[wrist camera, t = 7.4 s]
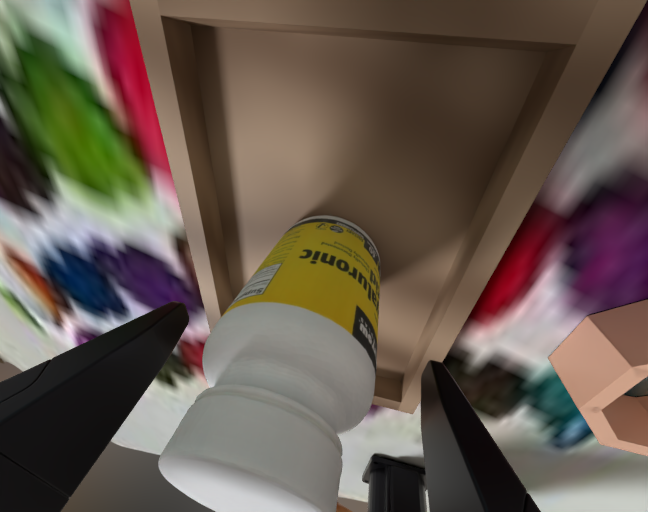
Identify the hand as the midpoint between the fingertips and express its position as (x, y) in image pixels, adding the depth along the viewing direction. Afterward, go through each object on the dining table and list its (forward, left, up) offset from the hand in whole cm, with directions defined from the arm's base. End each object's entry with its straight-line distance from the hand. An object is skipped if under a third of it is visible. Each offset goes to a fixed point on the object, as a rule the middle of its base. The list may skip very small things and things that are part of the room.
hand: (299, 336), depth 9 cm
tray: (0, 0, -6) cm, 6 cm away
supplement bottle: (0, 0, -6) cm, 6 cm away
